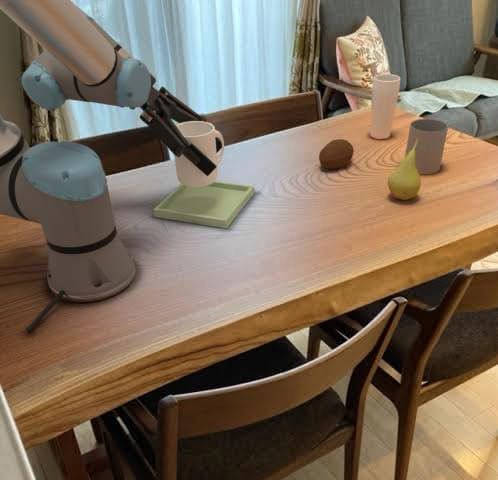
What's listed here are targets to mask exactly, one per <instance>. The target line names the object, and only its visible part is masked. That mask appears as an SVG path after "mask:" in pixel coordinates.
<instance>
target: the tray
mask: <svg viewBox="0 0 498 480" xmlns="http://www.w3.org/2000/svg"><path fill="white" fill-rule="evenodd" d="M254 195H255V185H250V184H242V183H234V182H227V181H220V180H215V181H214V182H213V183H212V184H210V185H207V186H203V187H188V186H185V185H183V184H181V183H180V184H178V185H177V186H176V187H175V188H174V189H173V190H172V191H171V192H170V193H169V194H168V195H167V196H166V197H165V198H164V199H162V201H160V203H159V204H158V205H156V206H155V207H154V208H153V209H152V210H153V215H154V218H160V219H166V220H171V221H179V222H185V223H190V224H196V225H201V226H202V225H203V226H208V227H214V228H215V227H216V228H220V229H221V228H222V229H227V228H228V227H229V226H231V223H233V221H234V220H235V219H236V217H237V216H238V214H240V212H241V211H242V210H243V209H244V207H245V206H246V205H247V204H248V202H249V201H250V200H251V199H252V197H253V196H254Z"/></svg>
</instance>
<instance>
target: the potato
mask: <svg viewBox="0 0 498 480" xmlns="http://www.w3.org/2000/svg"><path fill="white" fill-rule="evenodd" d="M354 152H355V150H354V146H353V144H352V143H351V142H349V140H347V139H343V138H339V139H332V140H331V141H330V142H328V143H326V144H325V146H324V147H323V148H322V149H321V150H320V152H319V154H318V160H319V164H320V166H321V167H323V168H324V169H328V170H329V169H330V170H333V169H338V168H340V167H344V166H347V165H349V163H350V162H351V161H352V158H353V157H354Z"/></svg>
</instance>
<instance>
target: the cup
mask: <svg viewBox="0 0 498 480" xmlns="http://www.w3.org/2000/svg"><path fill="white" fill-rule="evenodd" d="M448 130H449V125H448V124H447V123H446V122H445V121H442V120H438V119H432V118H420V119H415V120H413V121H411V122H410V124H409V130H408V135H407V136H408V137H407V142H406V148H405V149H406V150H405V154H404V155H405V156H404V158H405V157H406V156H407V155H408V153H409V152H410V151H411V150H412V149H413V147H414V145H415V142H416V138H418V143H417V145H416V147H415V150H414V151H415V165H416V169H417V171H418V173H419V175H432V174H436V173H438V172H439V171H440V169H441V165H442V161H443V160H442V159H443V155H444V151H445V145H446V140H447V135H448Z"/></svg>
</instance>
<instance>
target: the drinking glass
mask: <svg viewBox="0 0 498 480" xmlns="http://www.w3.org/2000/svg"><path fill="white" fill-rule="evenodd" d="M400 87H401V77H400V76H399V75H398V74H397V75H396V74H391V73H381V74H380V73H379V74H377V75H374V76H373V80H372V87H371V105H370V106H371V108H370V131H369V136H370V137H371V138H373V139H375V140H386V139H388V138H390V136H391V133H392V132H391V131H392V126H393V122H394V117H395V113H396V108H397V103H398V99H399V94H400Z"/></svg>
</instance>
